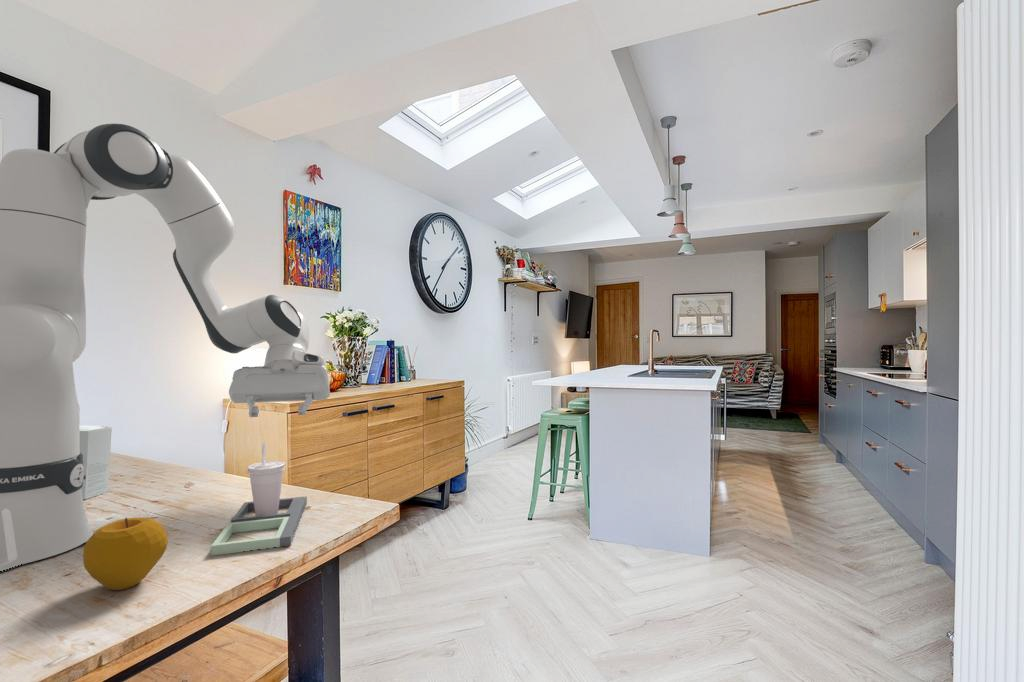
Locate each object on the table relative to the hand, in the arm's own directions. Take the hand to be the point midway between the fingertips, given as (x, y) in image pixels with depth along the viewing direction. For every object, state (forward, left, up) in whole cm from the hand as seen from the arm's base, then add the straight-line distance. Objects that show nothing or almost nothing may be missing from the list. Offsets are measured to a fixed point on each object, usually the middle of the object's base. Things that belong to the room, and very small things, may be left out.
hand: (277, 414), depth 99 cm
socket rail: (0, -17, -17) cm, 25 cm away
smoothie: (0, -12, -18) cm, 21 cm away
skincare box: (-41, +14, -18) cm, 47 cm away
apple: (-13, -34, -18) cm, 40 cm away
